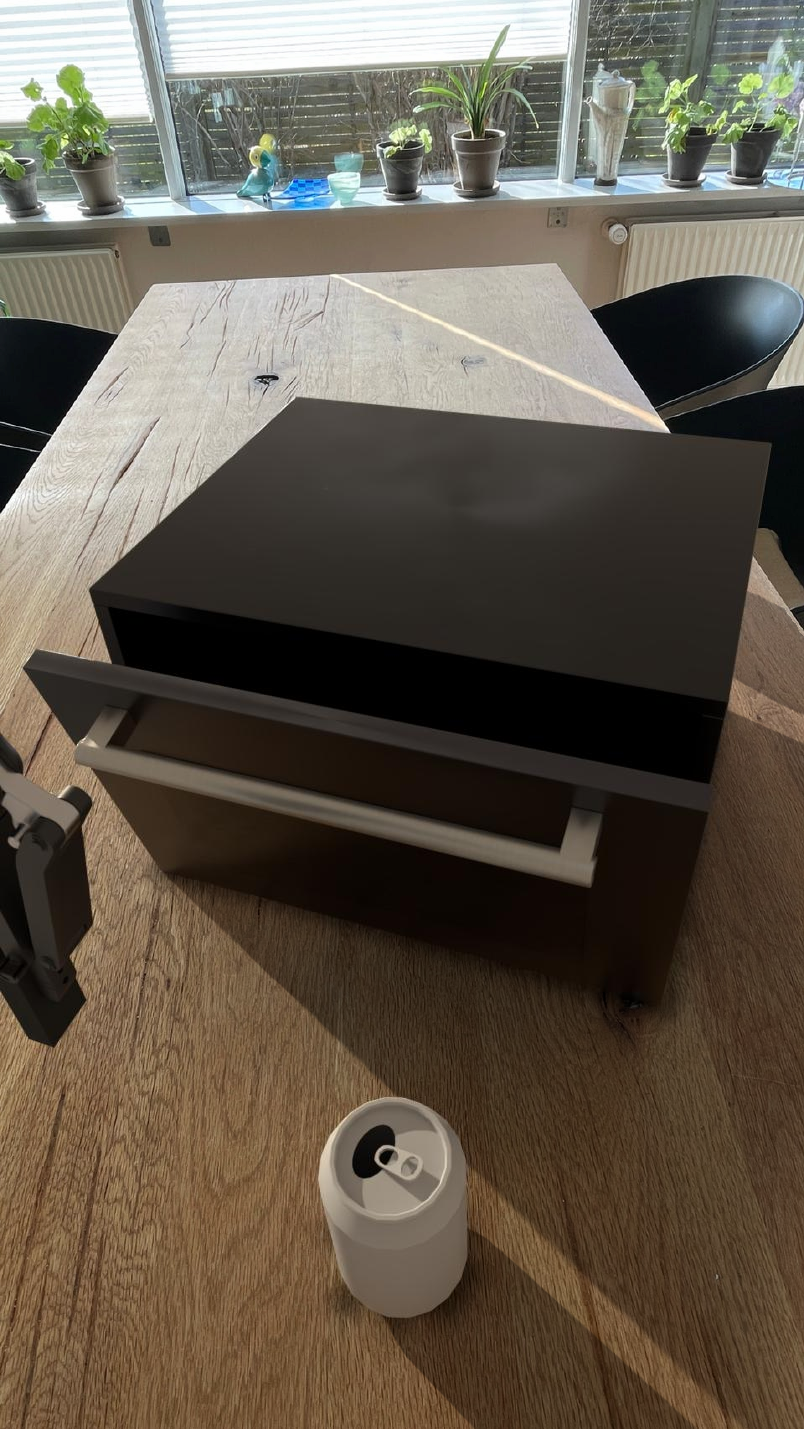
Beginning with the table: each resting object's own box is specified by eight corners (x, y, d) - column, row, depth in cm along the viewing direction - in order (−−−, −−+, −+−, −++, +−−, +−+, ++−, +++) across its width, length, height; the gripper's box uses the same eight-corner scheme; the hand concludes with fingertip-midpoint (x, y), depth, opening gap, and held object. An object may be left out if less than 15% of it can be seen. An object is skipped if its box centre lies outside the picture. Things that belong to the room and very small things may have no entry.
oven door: (651, 1060, 63) (697, 881, 43) (138, 912, 75) (-15, 716, 55) (665, 985, 66) (714, 784, 46) (169, 854, 78) (35, 647, 58)
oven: (665, 985, 67) (729, 701, 50) (171, 854, 78) (87, 589, 61) (715, 703, 89) (771, 442, 72) (326, 634, 101) (295, 396, 84)
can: (380, 1160, 58) (365, 1058, 51) (490, 1222, 55) (492, 1124, 48) (312, 1277, 54) (284, 1185, 46) (428, 1352, 51) (419, 1267, 43)
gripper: (79, 591, 32) (212, 991, 47) (-213, 540, 35) (-2, 925, 51) (-78, 737, 26) (130, 1133, 42) (-401, 658, 30) (-102, 1047, 46)
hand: (58, 1018), depth 46 cm, fingers closed
